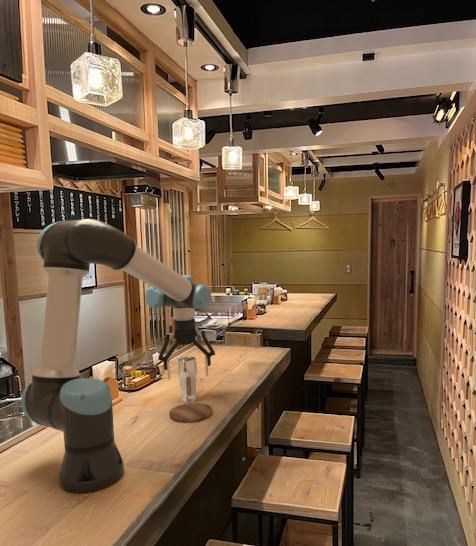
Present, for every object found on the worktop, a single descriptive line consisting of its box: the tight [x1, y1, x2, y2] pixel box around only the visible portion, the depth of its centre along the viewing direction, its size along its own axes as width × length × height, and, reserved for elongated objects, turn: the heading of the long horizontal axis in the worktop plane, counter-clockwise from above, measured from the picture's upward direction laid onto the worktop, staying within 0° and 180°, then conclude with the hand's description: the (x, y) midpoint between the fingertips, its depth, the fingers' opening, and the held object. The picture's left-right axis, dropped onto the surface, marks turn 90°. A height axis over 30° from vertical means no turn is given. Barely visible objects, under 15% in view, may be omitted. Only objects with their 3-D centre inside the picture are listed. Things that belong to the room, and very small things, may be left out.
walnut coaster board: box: [168, 402, 213, 424], centre depth 147 cm, size 14×14×1 cm
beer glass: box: [177, 355, 199, 403], centre depth 161 cm, size 7×7×15 cm
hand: (188, 376), depth 161 cm, fingers open, 13 cm apart
